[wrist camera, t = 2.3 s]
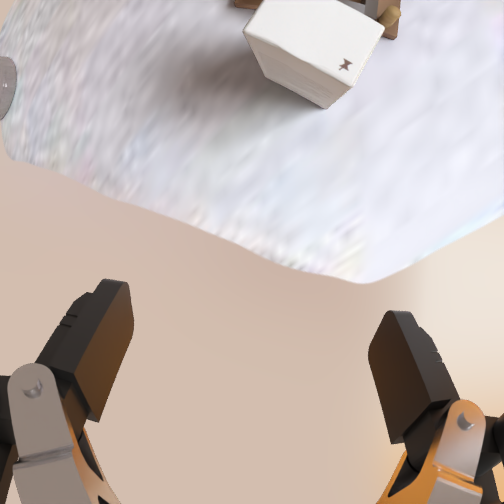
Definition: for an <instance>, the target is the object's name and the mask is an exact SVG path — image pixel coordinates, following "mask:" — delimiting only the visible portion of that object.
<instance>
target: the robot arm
mask: <svg viewBox="0 0 504 504" xmlns="http://www.w3.org/2000/svg"><path fill="white" fill-rule="evenodd" d="M15 87H16V68H15V65H14V62H13V61H12V60H11V59H10V58H8V57H0V120H1V119H2V118H3V117H4V115H5V114H6V112H7V111H8V109H9V107H10V104H11V102H12V99H13V96H14V92H15ZM133 330H134V317H133V311H132V305H131V297H130V290H129V285H128V283H127V282H123V281H117V280H110V279H103V280H102V281H101V282H100V283H99V285H98V286H97V288H96V289H95V291H94V292H93V293H89V292H86V293H85V294H84V295H82V296H81V297H79V298H78V299H77V300H75V301H74V302H73V304H72V305H71V307H70V308H69V310H68V311H67V313H66V316H64V317H63V319H62V320H61V322H60V325H59V326H57V328H56V329H55V331H54V333H53V334H52V336H51V337H50V339H49V340H48V342H47V343H46V345H45V347H44V349H43V350H42V352H41V353H40V355H39V357H38V358H37V360H36V361H35V363H30V364H26V365H23V366H21V367H20V368H18V369H17V370H16V371H15V372H14V373H13V374H12V375H11V376H0V504H5V502H6V498H7V494H8V490H9V487H10V483H11V480H12V476H13V475H14V480H15V483H16V487H17V490H18V494H19V497H20V500H21V503H22V504H121V503H120V501H119V500H118V498H117V497H116V495H115V494H114V492H113V490H112V489H111V488H110V486H109V484H108V482H107V480H106V478H105V476H104V474H103V471H102V469H101V467H100V465H99V462H98V460H97V458H96V455H95V453H94V450H93V448H92V445H91V443H90V440H89V438H88V435H87V433H86V430H85V428H84V424H85V422H86V419H88V420H92V421H95V422H99V421H100V418H101V415H102V412H103V410H104V407H105V404H106V401H107V399H108V396H109V394H110V391H111V388H112V386H113V383H114V381H115V378H116V375H117V373H118V370H119V368H120V365H121V363H122V360H123V358H124V356H125V353H126V351H127V348H128V346H129V343H130V341H131V339H132V335H133ZM437 351H438V350H437V348H436V346H435V344H434V342H433V340H432V338H431V337H430V336H429V335H428V334H427V333H426V332H425V331H424V330H423V329H422V328H421V327H419V326H418V324H417V322H416V321H415V319H414V317H413V315H412V313H411V312H408V311H392V310H390V311H387V312H386V313H385V315H384V317H383V319H382V321H381V323H380V325H379V327H378V329H377V331H376V333H375V335H374V338H373V339H372V341H371V343H370V346H369V351H368V360H369V364H370V368H371V371H372V374H373V378H374V381H375V385H376V388H377V392H378V396H379V399H380V403H381V406H382V410H383V414H384V418H385V422H386V426H387V430H388V434H389V438H390V442H391V444H398V443H405V447H406V451H405V452H404V453H403V455H402V457H401V459H400V461H399V463H398V465H397V467H396V469H395V471H394V473H393V475H392V477H391V479H390V481H389V483H388V485H387V487H386V489H385V491H384V492H383V494H382V496H381V498H380V499H379V501H378V502H377V503H376V504H504V502H501V501H500V499H499V496H498V491H497V487H496V483H495V479H494V475H493V471H492V468H493V467H494V466H496V465H497V464H499V463H500V462H501V461H502V463H503V466H504V413H503V414H502V416H500V417H499V418H497V417H490V416H484V414H483V412H482V411H481V409H480V408H479V407H478V406H477V405H476V404H475V403H473V402H471V401H469V400H461V399H460V398H459V395H458V393H457V391H456V388H455V386H454V384H453V382H452V380H451V377H450V375H449V373H448V371H447V369H446V367H445V364H444V363H442V358H441V356H440V354H439V353H437ZM18 457H19V460H18ZM17 460H18V461H17Z"/></svg>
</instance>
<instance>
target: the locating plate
mask: <svg viewBox="0 0 504 504" xmlns="http://www.w3.org/2000/svg"><path fill="white" fill-rule="evenodd" d="M262 1H263V0H235V2H234V4H235V6H236V8H249V9H257V8H258V7H259V5H260V4H261V2H262ZM337 1H339V2H341V3H343V4H345V5H347V6H349V7H351V8H353V9H355V10H357V11H359V12H361V13H362V14H364V15H366V16H368V17H369V18H371V19H373V20H374V21H376V22H378V23H379V24H381V25H383V26H384V27H385V30H384V32H383V34H382V36H383V37H386V38H389V39H392V40H394V39H395V38H397V33H398V23H399V17H400V16H401V11H400V1H401V0H337Z"/></svg>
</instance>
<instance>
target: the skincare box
mask: <svg viewBox="0 0 504 504" xmlns="http://www.w3.org/2000/svg"><path fill="white" fill-rule="evenodd" d="M384 30H385V27H384V26H383V25H381V24H379V23H378V22H376V21H374V20H373V19H371V18H369V17H368V16H366V15H364V14H362V13H361V12H359V11H357V10H355V9H353V8H351V7H349V6H347V5H345V4H343V3H341V2H339V1H337V0H263V1H262V2H261V4H260V5H259V7H258V8H257V9H256V11H255V12H254V14H253V15H252V17H251V18H250V20H249V21H248V23H247V24H246V26H245V27H244V29H243V34H244V36H245V37H246V39H247V41H248V43H249V45H250V47H251V49H252V51H253V53H254V55H255V57H256V59H257V61H258V63H259V65H260V67H261V70H262V72H263V74H264V76H265V77H266V78H268V79H270V80H272V81H274V82H276V83H278V84H280V85H282V86H284V87H286V88H288V89H290V90H291V91H293V92H295V93H297V94H299V95H301V96H303V97H304V98H306V99H308V100H310V101H312V102H313V103H315V104H317V105H319V106H320V107H322V108H324V109H328V108H329V107H330V106H331V105H332V104H333V103H335V102H336V101H337V100H338V99H339V98H340V97H342V96H343V95H344V94H345V93H346V92H347V91H348V90H350V89H351V88H352V87H353V86H354V85H355V83H356V81H357V79H358V77H359V75H360V73H361V72H362V70H363V68H364V66H365V64H366V63H367V61H368V59H369V57H370V55H371V54H372V52H373V50H374V48H375V46H376V45H377V43H378V41H379V39H380V37H381V36H382V34H383V32H384Z"/></svg>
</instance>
